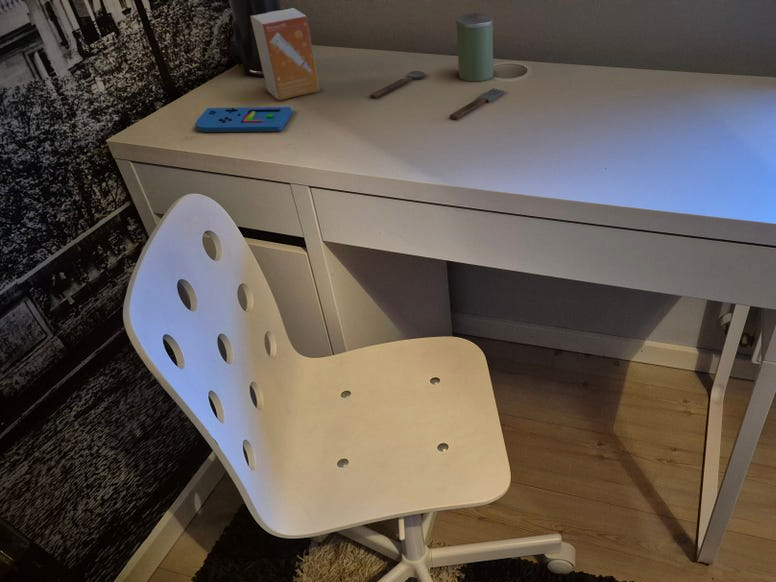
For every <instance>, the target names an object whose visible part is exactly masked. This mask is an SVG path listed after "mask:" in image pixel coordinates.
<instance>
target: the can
mask: <svg viewBox="0 0 776 582" xmlns="http://www.w3.org/2000/svg"><path fill="white" fill-rule="evenodd" d="M455 24H456V39H457V41H456V42H457V63H458V64H457V65H458V77H459V79H461V80H463V81H467V82H484V81H487V80H490V79H491V78H493V76H494V17H493V16H492V15H490V14H487V13H481V12H480V13H478V12H471V13H465V14H461V15H458V16H457V17H456V19H455Z"/></svg>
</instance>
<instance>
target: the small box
mask: <svg viewBox="0 0 776 582" xmlns="http://www.w3.org/2000/svg"><path fill="white" fill-rule="evenodd" d="M250 17H251V21H252V25H253V30H254V34H255V38H256V43H257V47H258V51H259V56H260V60H261V65H262V69H263V73H264V76H263V77H264V81H265V86H266V90H267V92H268V93H270V95H272V96H273V97H274V98H275V99H277V100H278V101H283V100H286V99H287V100H288V99H291V98H294V97H298V96H299V97H300V96H304V95H308V94H313V93H318V92H320V85H319V80H318V74H317V68H316V67H317V66H316V62H315V57H314V51H313V46H312V40H311V34H310V28H309V22H308V17H307V15H305V14H304V13H303V12H301V11H299V10H298V9H296V8H295V7H291V8H288V9H282V10H280V11H273V12H268V13H264V14H259V15H254V16H250Z"/></svg>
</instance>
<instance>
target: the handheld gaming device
mask: <svg viewBox="0 0 776 582" xmlns="http://www.w3.org/2000/svg"><path fill="white" fill-rule="evenodd" d="M292 114H293V109H292V107H291V106H257V107H255V106H253V107H251V106H247V107H246V106H245V107H241V106H240V107H239V106H238V107H207V108H206V109H205V110H204V111H203V113H202V114H200V116H199V117H198V118H197V119H196V121H195V123H194V125H195V128H196V130H197V131H199V132H203V133H230V132H231V133H234V132H235V133H236V132H238V133H241V132H243V133H245V132H281V131H282V130H283V129H284V128H285V125H286V124H287V122H288V121H289V119H290V117H291V116H292Z"/></svg>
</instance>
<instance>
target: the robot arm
mask: <svg viewBox="0 0 776 582" xmlns="http://www.w3.org/2000/svg"><path fill="white" fill-rule="evenodd" d="M228 2H229V3H228V4H229V6H230V10H231V14H232V18H233V19H232V21H231V27H232V30H233V35H232V37H231V39H230V41H229V42H230V43H229V44H230V49H229V53H230V54H229V55H230V56H231V58H232V60H234V62H235V63H236V64H237V66H238V67H240V66H242V70H243V74H244V75H245V76H256V77H264V73H263V69H262V65H261V60H260V56H259V51H258V47H257V43H256V38H255V34H254V30H253V25H252V21H251V17H250V16H254V15H259V14H264V13H268V12H273V11H280V10H283V6H282V1H281V0H228ZM239 57H240V58H239Z"/></svg>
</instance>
